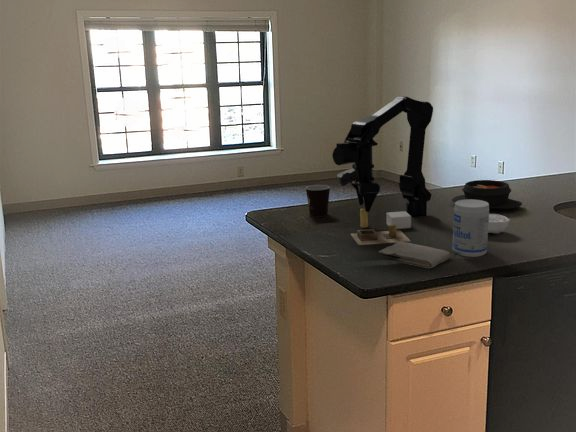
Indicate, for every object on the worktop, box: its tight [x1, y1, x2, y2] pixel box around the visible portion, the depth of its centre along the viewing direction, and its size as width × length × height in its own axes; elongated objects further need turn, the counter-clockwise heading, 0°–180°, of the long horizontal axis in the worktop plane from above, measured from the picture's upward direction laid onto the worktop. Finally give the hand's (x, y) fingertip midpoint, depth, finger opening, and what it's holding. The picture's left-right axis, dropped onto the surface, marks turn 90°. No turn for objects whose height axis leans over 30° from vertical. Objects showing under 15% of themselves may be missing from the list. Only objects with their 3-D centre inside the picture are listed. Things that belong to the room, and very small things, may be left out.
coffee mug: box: [305, 184, 331, 218], centre depth 231 cm, size 12×9×10 cm
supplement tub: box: [451, 199, 490, 258], centre depth 180 cm, size 10×10×15 cm
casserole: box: [451, 179, 523, 211], centre depth 230 cm, size 25×19×8 cm
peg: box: [359, 207, 369, 229], centre depth 208 cm, size 2×2×7 cm
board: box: [350, 225, 411, 246], centre depth 196 cm, size 16×12×5 cm
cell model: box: [488, 213, 511, 235], centre depth 199 cm, size 10×12×7 cm
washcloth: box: [378, 241, 452, 269], centre depth 180 cm, size 12×18×3 cm, turn 49°
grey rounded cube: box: [385, 210, 412, 230], centre depth 207 cm, size 6×6×5 cm
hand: (364, 208), depth 207 cm, fingers open, 9 cm apart
